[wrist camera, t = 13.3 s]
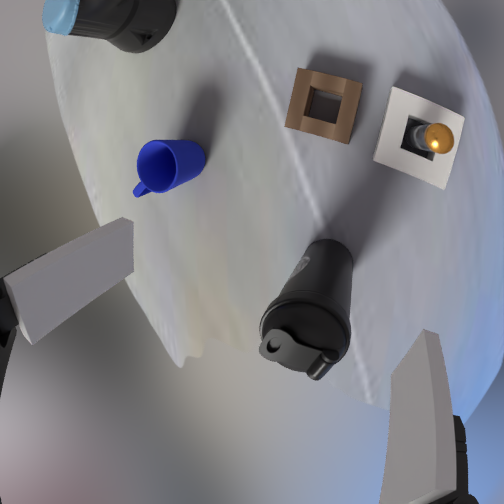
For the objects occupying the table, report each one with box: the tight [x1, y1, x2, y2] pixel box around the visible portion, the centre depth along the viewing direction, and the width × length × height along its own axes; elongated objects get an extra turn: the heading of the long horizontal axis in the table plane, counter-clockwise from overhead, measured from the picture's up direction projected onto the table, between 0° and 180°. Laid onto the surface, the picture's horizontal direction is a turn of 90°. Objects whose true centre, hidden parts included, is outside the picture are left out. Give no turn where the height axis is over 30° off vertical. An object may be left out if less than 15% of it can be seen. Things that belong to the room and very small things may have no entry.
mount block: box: [284, 68, 363, 144], centre depth 35 cm, size 9×9×4 cm
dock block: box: [372, 86, 465, 190], centre depth 32 cm, size 11×11×4 cm
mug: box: [133, 140, 205, 197], centre depth 45 cm, size 8×12×10 cm
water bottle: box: [259, 239, 353, 380], centre depth 37 cm, size 10×10×23 cm
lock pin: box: [405, 123, 454, 154], centre depth 28 cm, size 3×3×14 cm
